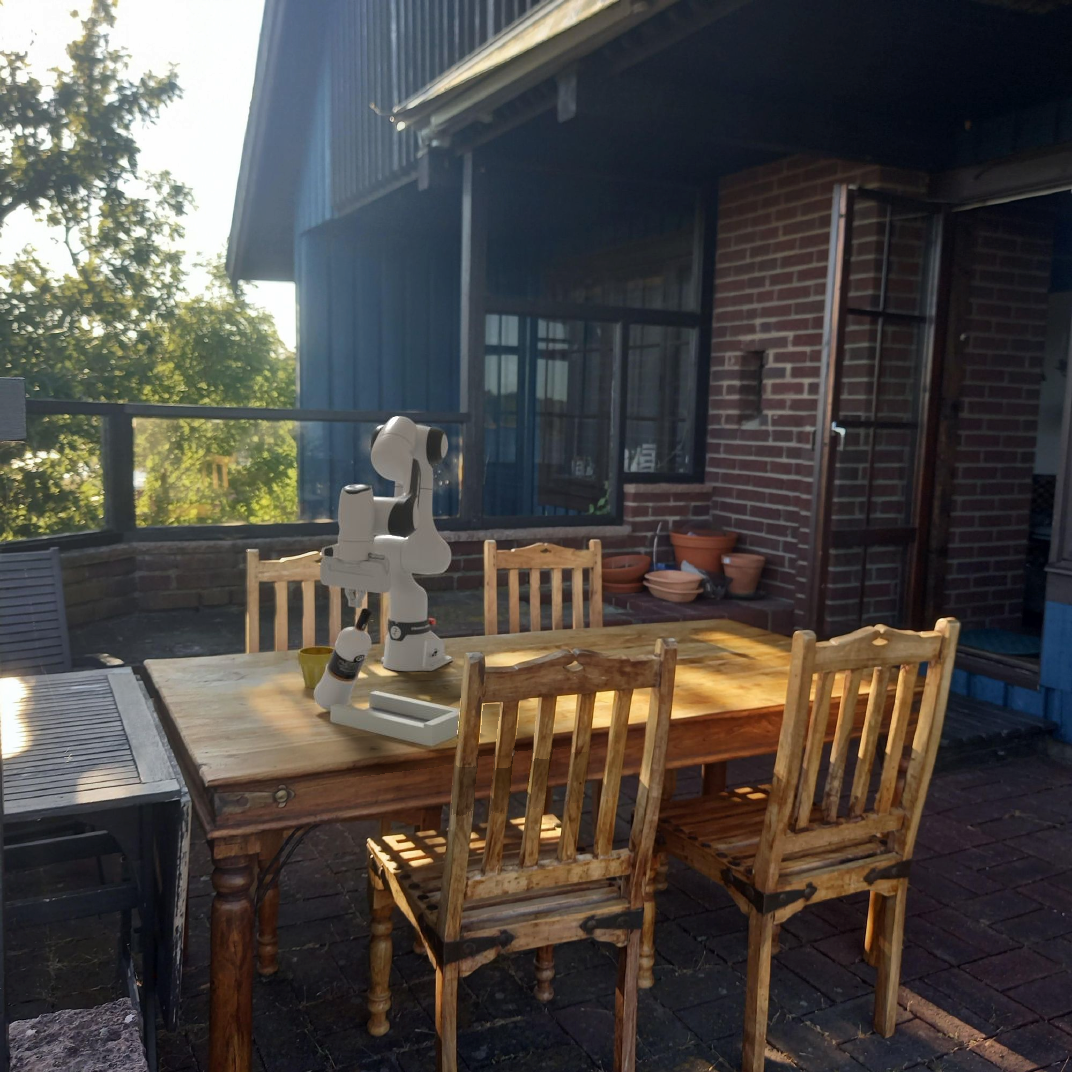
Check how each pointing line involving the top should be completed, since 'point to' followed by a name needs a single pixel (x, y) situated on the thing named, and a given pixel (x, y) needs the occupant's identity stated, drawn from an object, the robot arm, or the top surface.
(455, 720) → the cradle
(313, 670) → the plant pot
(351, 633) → the vodka
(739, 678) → the top surface
